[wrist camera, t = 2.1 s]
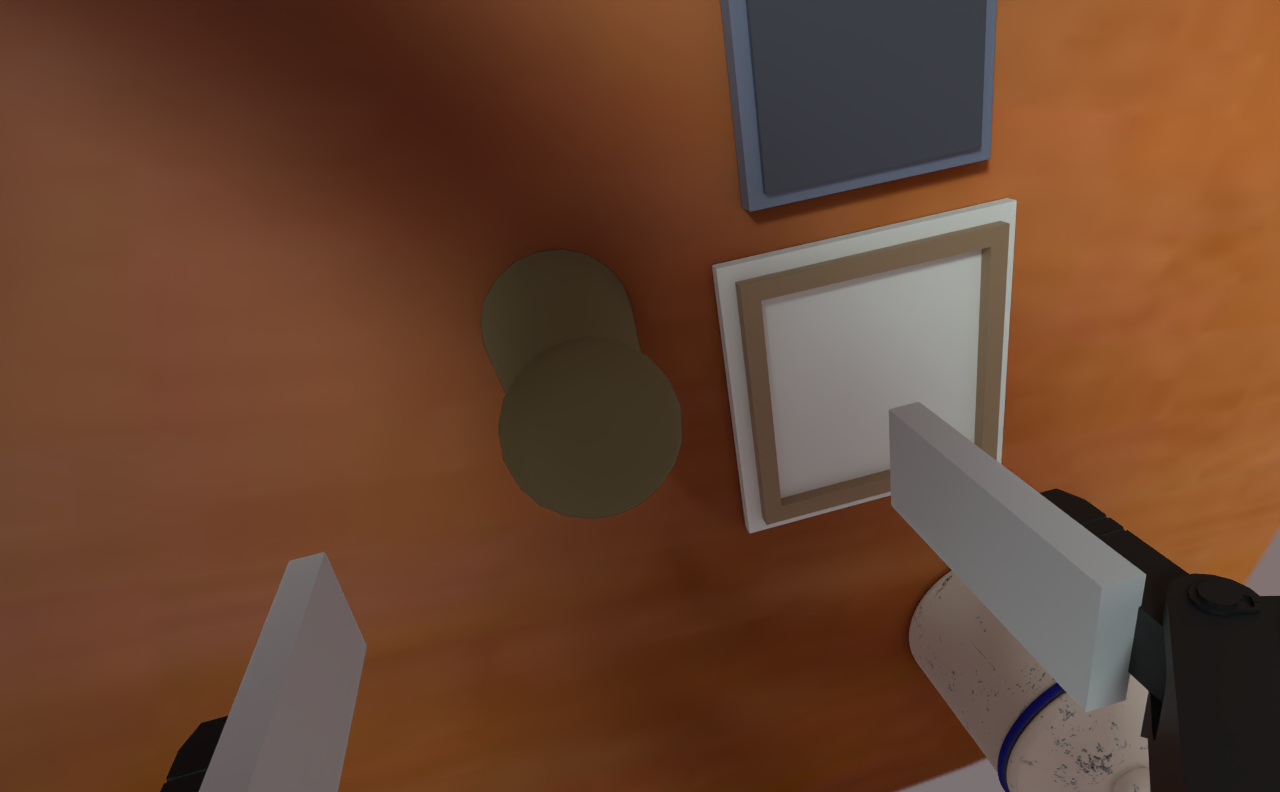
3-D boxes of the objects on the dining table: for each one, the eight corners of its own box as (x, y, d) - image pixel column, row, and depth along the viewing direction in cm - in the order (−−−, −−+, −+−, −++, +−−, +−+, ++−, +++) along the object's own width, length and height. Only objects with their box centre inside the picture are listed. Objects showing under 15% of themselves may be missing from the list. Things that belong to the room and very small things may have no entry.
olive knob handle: (656, 279, 29) (748, 390, 19) (600, 411, 31) (658, 572, 21) (510, 225, 27) (530, 318, 17) (460, 369, 29) (453, 525, 19)
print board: (711, 265, 29) (720, 272, 28) (1007, 197, 31) (1026, 203, 30) (745, 526, 35) (753, 541, 34) (993, 459, 37) (1009, 471, 36)
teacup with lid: (912, 697, 43) (1052, 901, 32) (890, 583, 39) (1044, 775, 28) (1098, 621, 43) (1294, 798, 33) (1096, 501, 39) (1320, 659, 29)
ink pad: (710, -94, 24) (721, -101, 23) (985, -141, 25) (1008, -150, 24) (742, 207, 29) (752, 213, 28) (976, 156, 30) (994, 159, 29)
